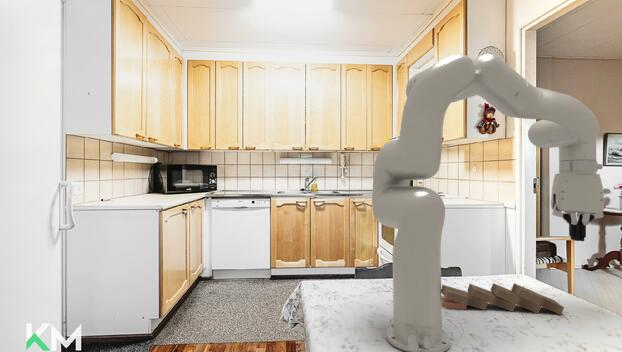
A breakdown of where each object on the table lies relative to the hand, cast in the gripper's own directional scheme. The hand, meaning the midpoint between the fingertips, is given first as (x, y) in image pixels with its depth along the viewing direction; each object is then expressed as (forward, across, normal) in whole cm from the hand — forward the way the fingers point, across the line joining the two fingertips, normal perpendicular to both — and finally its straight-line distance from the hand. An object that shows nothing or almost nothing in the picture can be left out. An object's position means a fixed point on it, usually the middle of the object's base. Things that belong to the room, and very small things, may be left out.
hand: (577, 240), depth 85 cm
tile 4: (+17, +23, +3) cm, 29 cm away
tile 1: (+17, +5, +2) cm, 18 cm away
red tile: (+18, +27, +3) cm, 33 cm away
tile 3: (+17, +16, +3) cm, 23 cm away
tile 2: (+17, +10, +2) cm, 20 cm away
